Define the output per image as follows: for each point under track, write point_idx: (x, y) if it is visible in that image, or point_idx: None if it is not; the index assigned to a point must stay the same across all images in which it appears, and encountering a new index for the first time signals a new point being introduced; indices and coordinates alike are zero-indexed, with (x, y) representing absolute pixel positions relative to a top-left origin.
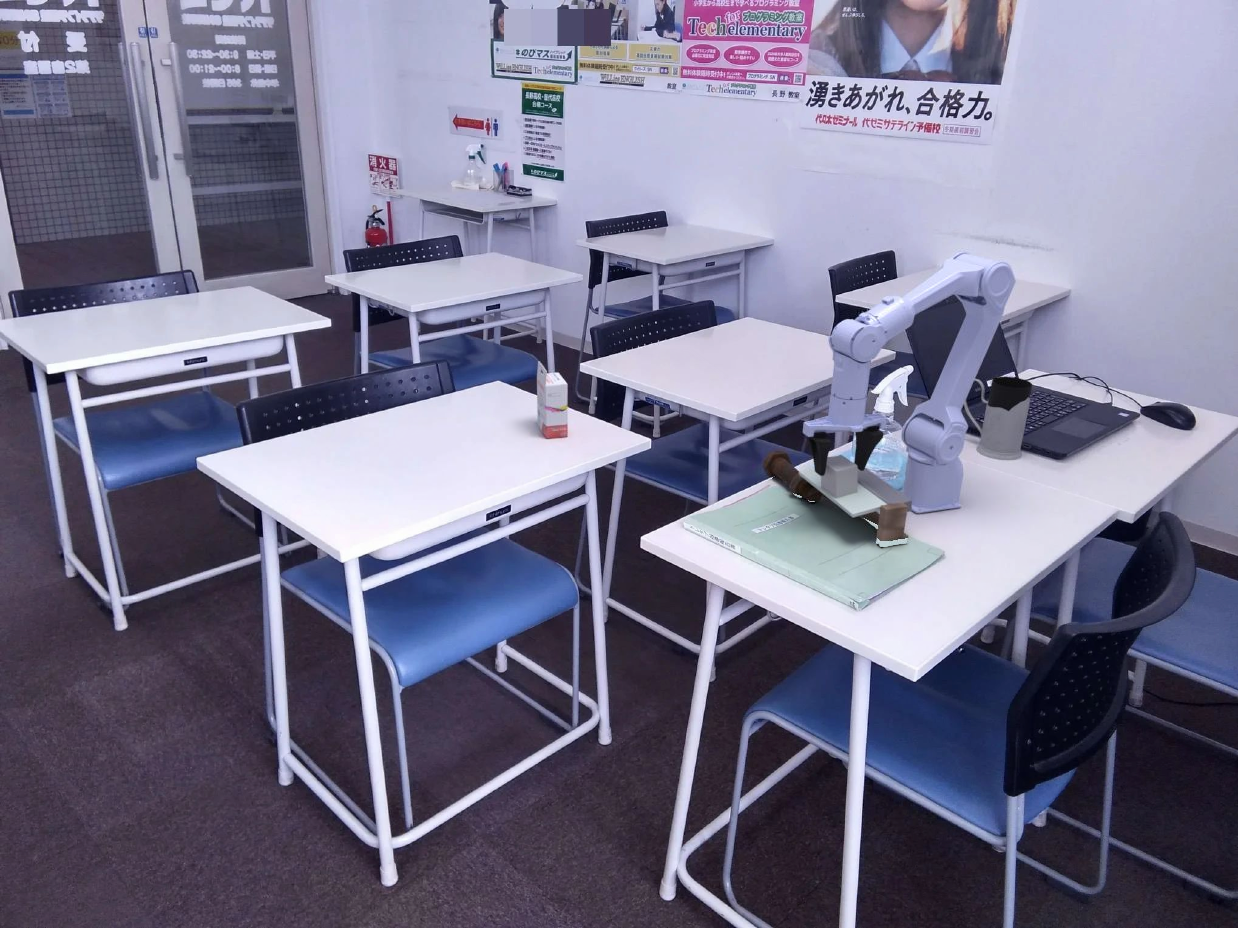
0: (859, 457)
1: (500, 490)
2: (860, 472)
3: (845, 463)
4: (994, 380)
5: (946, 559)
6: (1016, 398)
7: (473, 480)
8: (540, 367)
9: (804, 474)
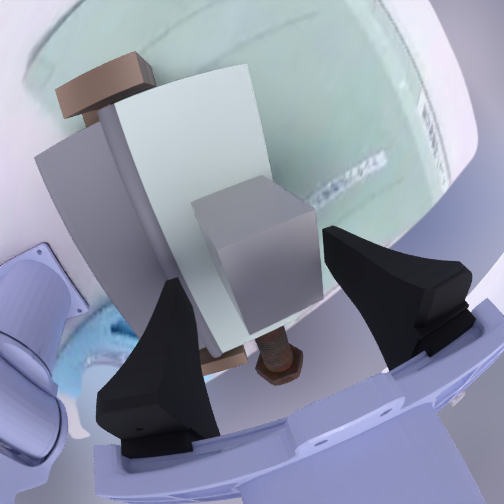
0: (187, 324)
1: (499, 260)
2: None
3: (258, 273)
4: None
5: (30, 45)
6: None
7: (499, 273)
8: (455, 400)
9: None
